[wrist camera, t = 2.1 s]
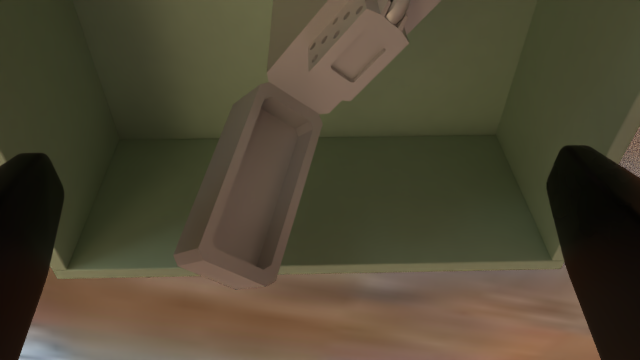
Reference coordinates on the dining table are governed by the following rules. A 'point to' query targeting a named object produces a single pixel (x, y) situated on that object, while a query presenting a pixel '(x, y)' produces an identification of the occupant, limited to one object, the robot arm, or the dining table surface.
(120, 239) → the carton
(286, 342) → the dining table surface
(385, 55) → the lighter
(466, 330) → the dining table surface
